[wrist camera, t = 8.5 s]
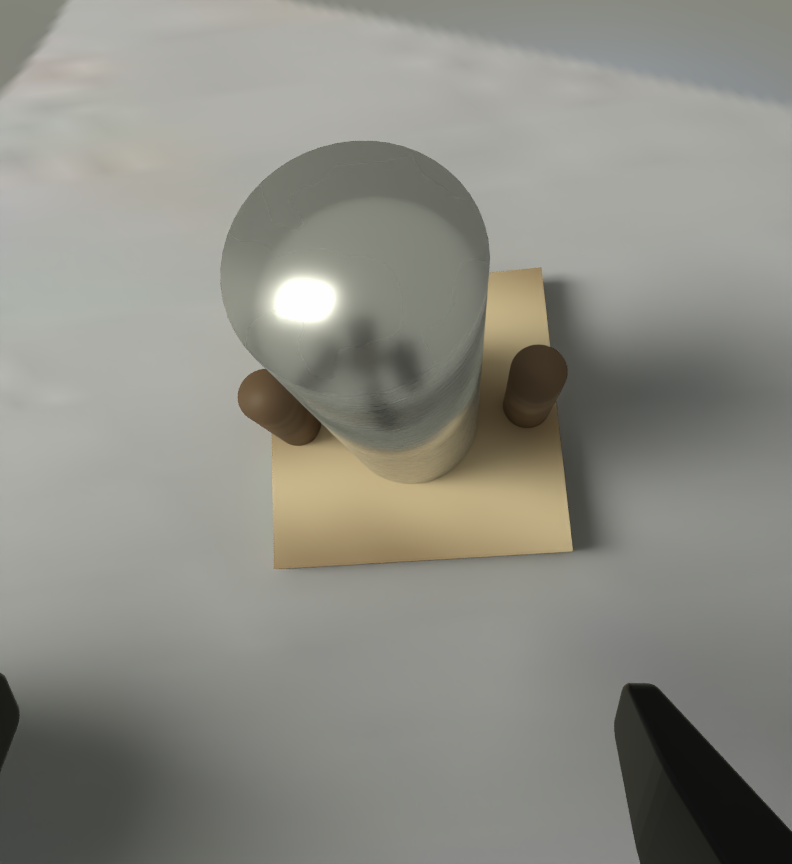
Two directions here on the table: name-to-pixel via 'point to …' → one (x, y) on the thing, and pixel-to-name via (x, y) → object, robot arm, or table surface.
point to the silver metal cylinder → (367, 300)
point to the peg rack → (453, 492)
